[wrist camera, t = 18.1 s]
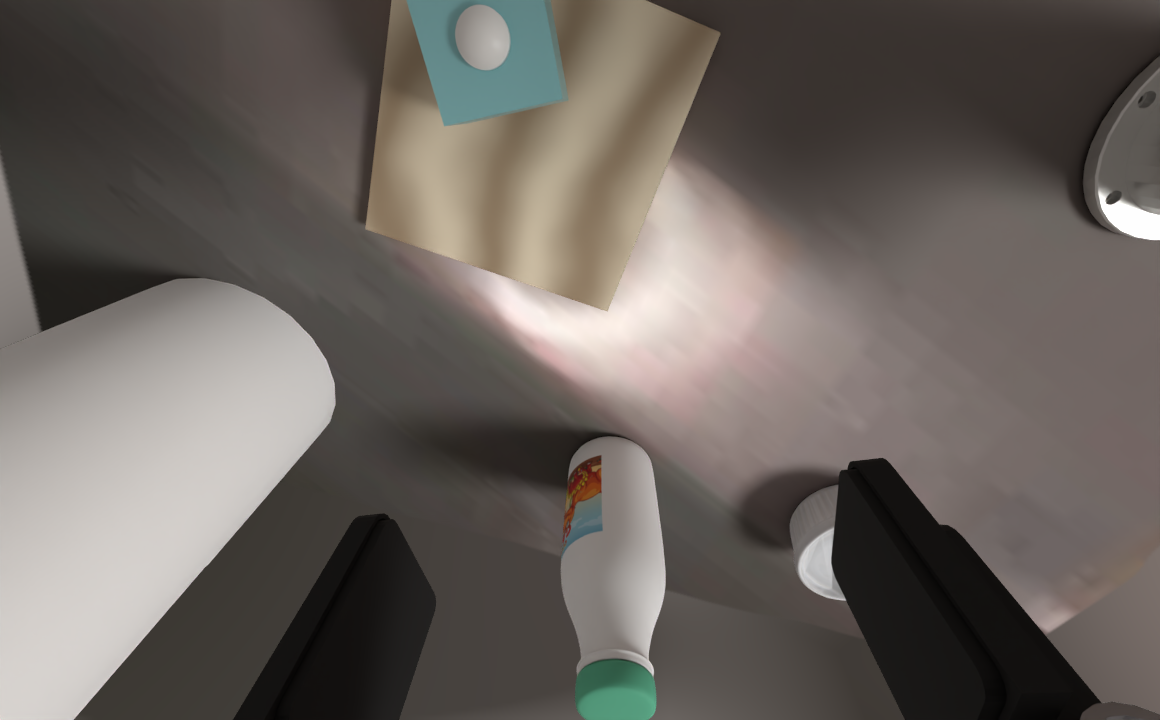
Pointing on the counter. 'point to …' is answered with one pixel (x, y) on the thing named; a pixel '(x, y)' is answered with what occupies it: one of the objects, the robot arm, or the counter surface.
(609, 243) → the board
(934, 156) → the counter surface
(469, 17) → the teal knob cube
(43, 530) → the white stepped round block
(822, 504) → the ramekin
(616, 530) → the milk bottle
